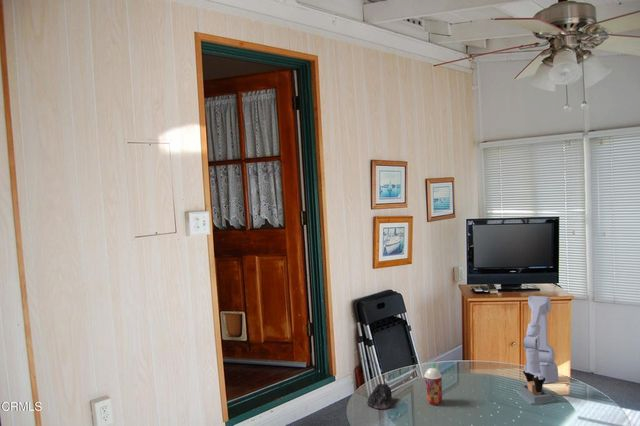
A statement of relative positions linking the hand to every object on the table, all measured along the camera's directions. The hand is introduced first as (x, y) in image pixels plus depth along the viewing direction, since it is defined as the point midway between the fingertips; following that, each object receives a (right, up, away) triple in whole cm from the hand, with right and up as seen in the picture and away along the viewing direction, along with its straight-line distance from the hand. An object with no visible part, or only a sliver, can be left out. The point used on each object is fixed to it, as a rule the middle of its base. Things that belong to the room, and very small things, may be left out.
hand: (534, 388), depth 248 cm
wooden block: (0, -3, 0) cm, 3 cm away
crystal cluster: (-73, -11, +8) cm, 74 cm away
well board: (0, -4, 0) cm, 4 cm away
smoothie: (-47, -8, +4) cm, 48 cm away
